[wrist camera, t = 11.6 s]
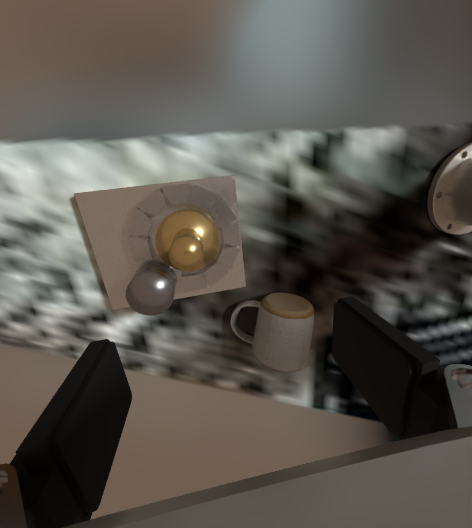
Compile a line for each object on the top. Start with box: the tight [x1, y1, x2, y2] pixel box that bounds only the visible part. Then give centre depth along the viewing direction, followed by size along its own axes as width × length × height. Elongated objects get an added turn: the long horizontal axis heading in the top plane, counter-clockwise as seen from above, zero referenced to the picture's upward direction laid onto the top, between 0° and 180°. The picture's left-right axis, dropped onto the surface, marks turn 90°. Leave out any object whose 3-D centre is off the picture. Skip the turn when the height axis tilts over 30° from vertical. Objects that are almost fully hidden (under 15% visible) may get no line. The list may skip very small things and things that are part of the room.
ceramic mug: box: [230, 293, 314, 372], centre depth 31 cm, size 11×8×8 cm
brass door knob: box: [155, 209, 219, 271], centre depth 25 cm, size 7×7×7 cm
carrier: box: [74, 175, 246, 315], centre depth 26 cm, size 17×14×5 cm
